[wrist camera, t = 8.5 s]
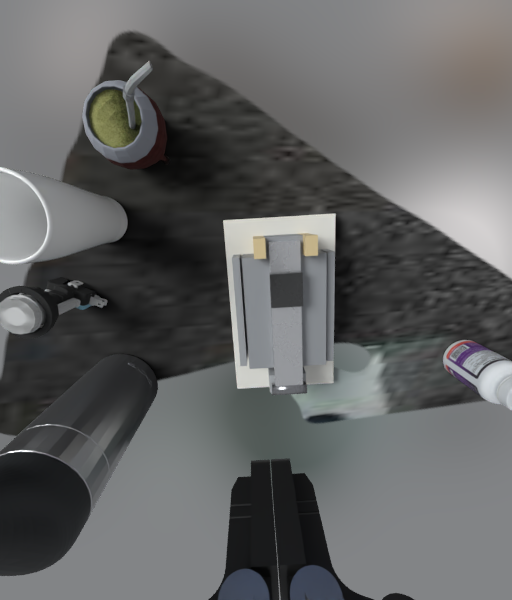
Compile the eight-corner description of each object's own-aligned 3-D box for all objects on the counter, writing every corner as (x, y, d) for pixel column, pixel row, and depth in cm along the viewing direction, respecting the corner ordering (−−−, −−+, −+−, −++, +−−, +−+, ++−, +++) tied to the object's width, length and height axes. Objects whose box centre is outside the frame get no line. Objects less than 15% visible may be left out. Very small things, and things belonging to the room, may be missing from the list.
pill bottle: (479, 371, 40) (548, 416, 31) (440, 376, 41) (497, 422, 31) (481, 336, 39) (554, 371, 30) (442, 341, 39) (502, 378, 30)
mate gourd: (103, 146, 32) (-18, 84, 18) (143, 85, 31) (47, -37, 16) (157, 192, 34) (85, 168, 19) (198, 135, 32) (154, 64, 18)
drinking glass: (142, 242, 35) (66, 255, 21) (90, 253, 35) (-22, 274, 21) (125, 184, 33) (28, 154, 19) (69, 196, 34) (-67, 176, 19)
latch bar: (304, 388, 35) (307, 397, 33) (271, 390, 35) (272, 399, 33) (302, 239, 30) (305, 240, 29) (264, 242, 30) (265, 243, 29)
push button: (113, 283, 36) (63, 305, 27) (104, 320, 38) (53, 354, 28) (60, 265, 36) (-10, 280, 26) (53, 303, 37) (-17, 332, 27)
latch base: (330, 377, 40) (346, 409, 33) (237, 382, 40) (235, 415, 33) (332, 214, 35) (352, 211, 28) (224, 220, 35) (217, 219, 28)
